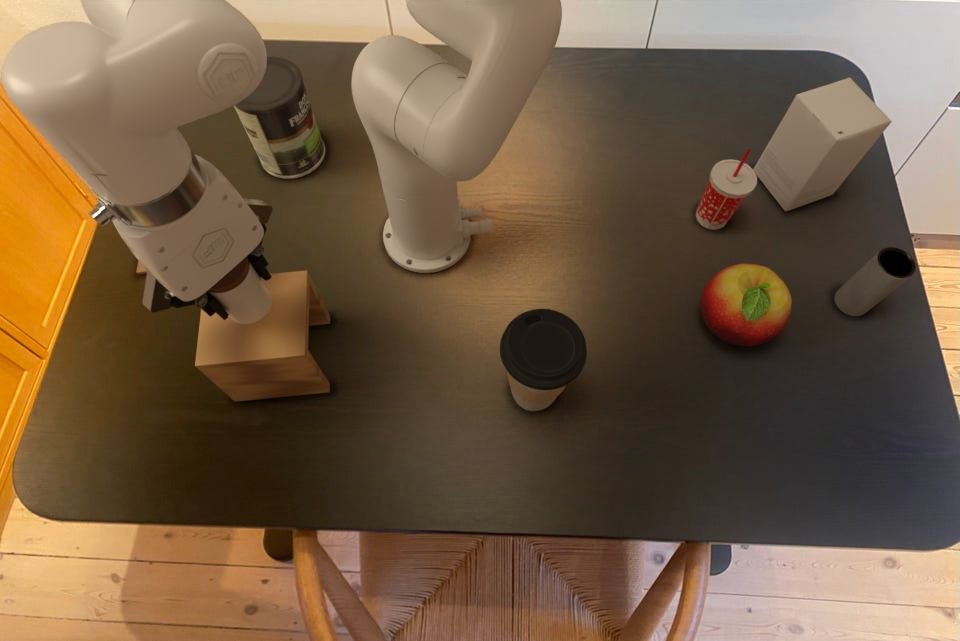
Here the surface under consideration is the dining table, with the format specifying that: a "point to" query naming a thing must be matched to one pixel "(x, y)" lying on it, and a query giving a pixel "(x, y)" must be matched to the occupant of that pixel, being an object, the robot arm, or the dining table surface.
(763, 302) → the fruit
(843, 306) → the grey hollow cylinder
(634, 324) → the dining table surface
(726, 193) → the beverage cup
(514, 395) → the coffee cup
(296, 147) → the coffee can
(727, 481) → the dining table surface
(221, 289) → the bean jar
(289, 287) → the brown piece
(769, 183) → the white product box
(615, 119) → the dining table surface
